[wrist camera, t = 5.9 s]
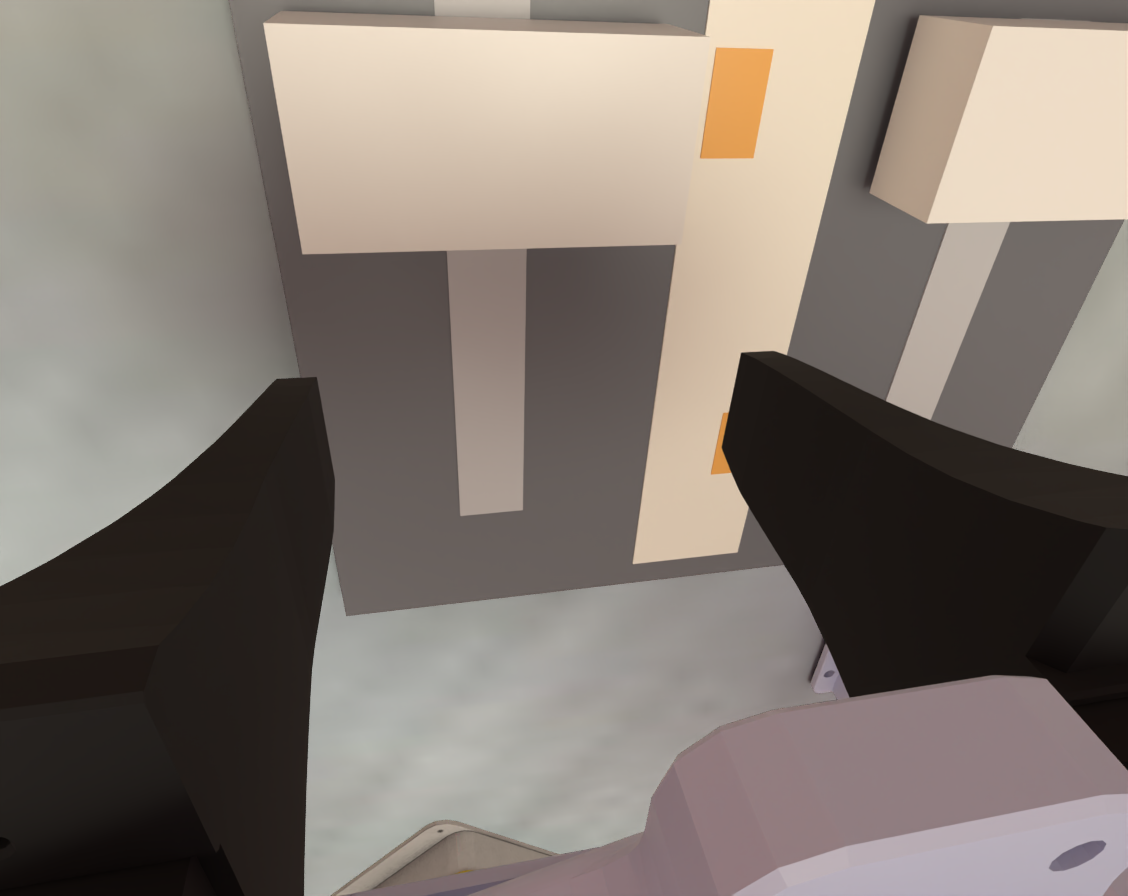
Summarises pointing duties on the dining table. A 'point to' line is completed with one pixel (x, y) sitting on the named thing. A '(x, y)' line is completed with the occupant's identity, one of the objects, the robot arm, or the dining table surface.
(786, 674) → the dining table surface
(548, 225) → the front slider
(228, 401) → the dining table surface
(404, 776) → the dining table surface
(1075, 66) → the rear slider
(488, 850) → the emergency button
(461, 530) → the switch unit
